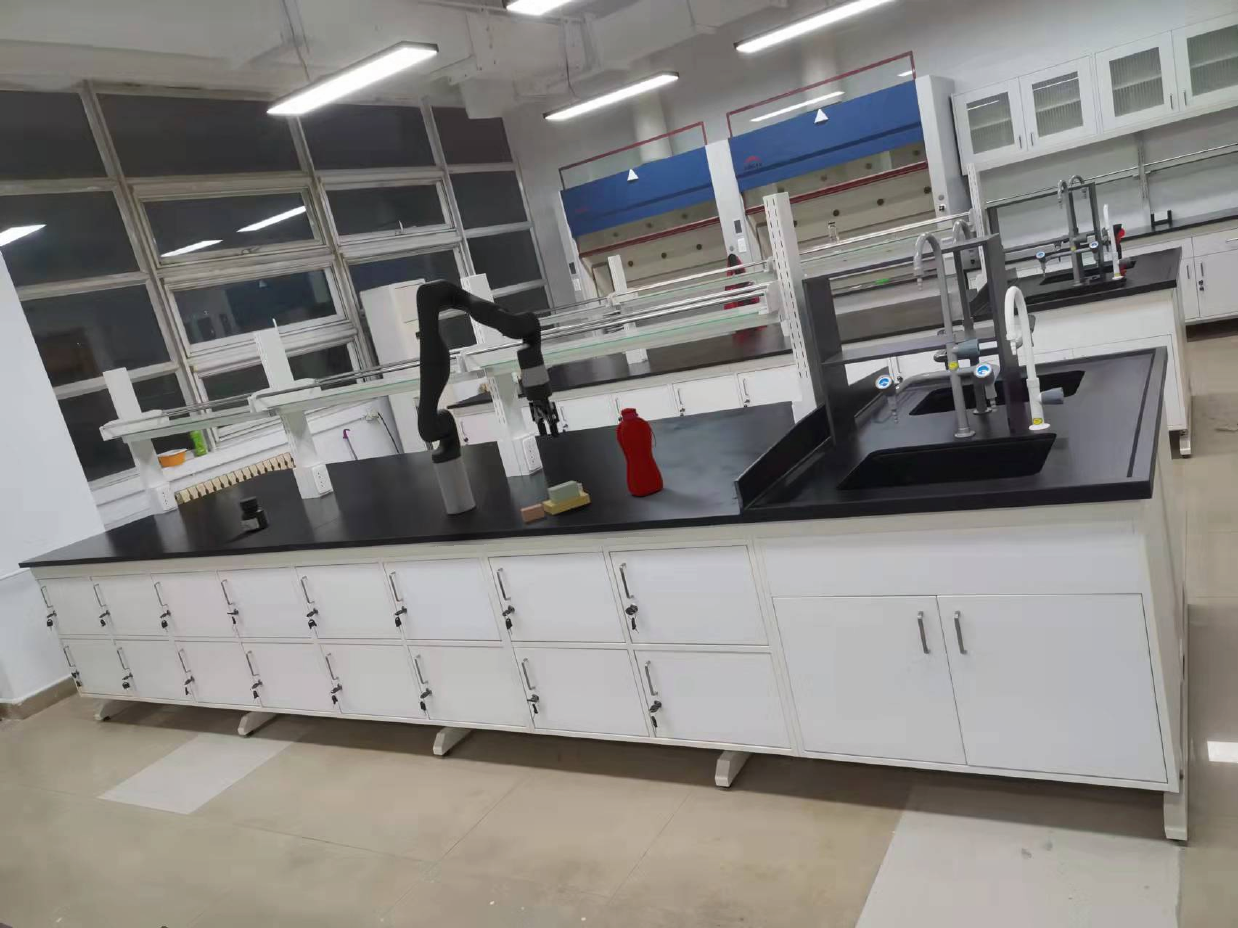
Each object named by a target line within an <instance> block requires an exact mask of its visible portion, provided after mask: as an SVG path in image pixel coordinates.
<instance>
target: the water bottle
mask: <svg viewBox="0 0 1238 928" xmlns="http://www.w3.org/2000/svg"><path fill="white" fill-rule="evenodd" d="M620 412H621V413H620V415H619V416H621V418H622V420H621V421H620V422H619V423H618V425H617V426H616V428H615V430H616V433H615V434H616V440H617V443H618V445H619V447H620V450H621V451H622V453H623V456H624V459H625V461H626V466H625V467H626V485H627V489H628V491H629V493H630V495H633V496H637V497H645V496H649V495H651V494H653V493H657V492H659V491H661V490H662V489H663V488H664V481H663V480H664V479H663V475H662V473H661V471H660V469H659V466H658V465H657V462H656V460H655V458H654V455H653V450H652V449H653V448H655V447H656V446H657V439H656V437H655V434H654V432H653V430H652V428H651V426H650V424H649V423H648V421H646V420H645V419H644V418H642V417H641V416H639V413H637V412H638V411H637V409H636V408H635V407H634V408H633V407H627V408H626V407H625V408H623V409H621V410H620ZM653 438H654V442H655V443H654V446H653V441H652V439H653Z"/></svg>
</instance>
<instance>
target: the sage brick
mask: <svg viewBox="0 0 1238 928" xmlns="http://www.w3.org/2000/svg"><path fill="white" fill-rule="evenodd" d="M577 483H578V482H577V481H574V480H569V481H566V482H564V483H561V484H557V485H555V486H552V487H548V488H547V489H546V490H547V493H548V497H549V500H550V501H551V502H553V503H559V502H562V501H565V500H567V499H570V498H573V497H576V496H579V495H580V492H579V488H578V484H577Z"/></svg>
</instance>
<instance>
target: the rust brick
mask: <svg viewBox="0 0 1238 928" xmlns="http://www.w3.org/2000/svg"><path fill="white" fill-rule="evenodd" d="M544 511H545V510H544V507H543V504H542V503H538V504H534V505H530V506H526V507H523V508H521V509H520V512H521V515H522V519H523V523H528V522H531V521H534V519H535V520H538V519H542V518H544V517H545V512H544Z"/></svg>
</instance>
